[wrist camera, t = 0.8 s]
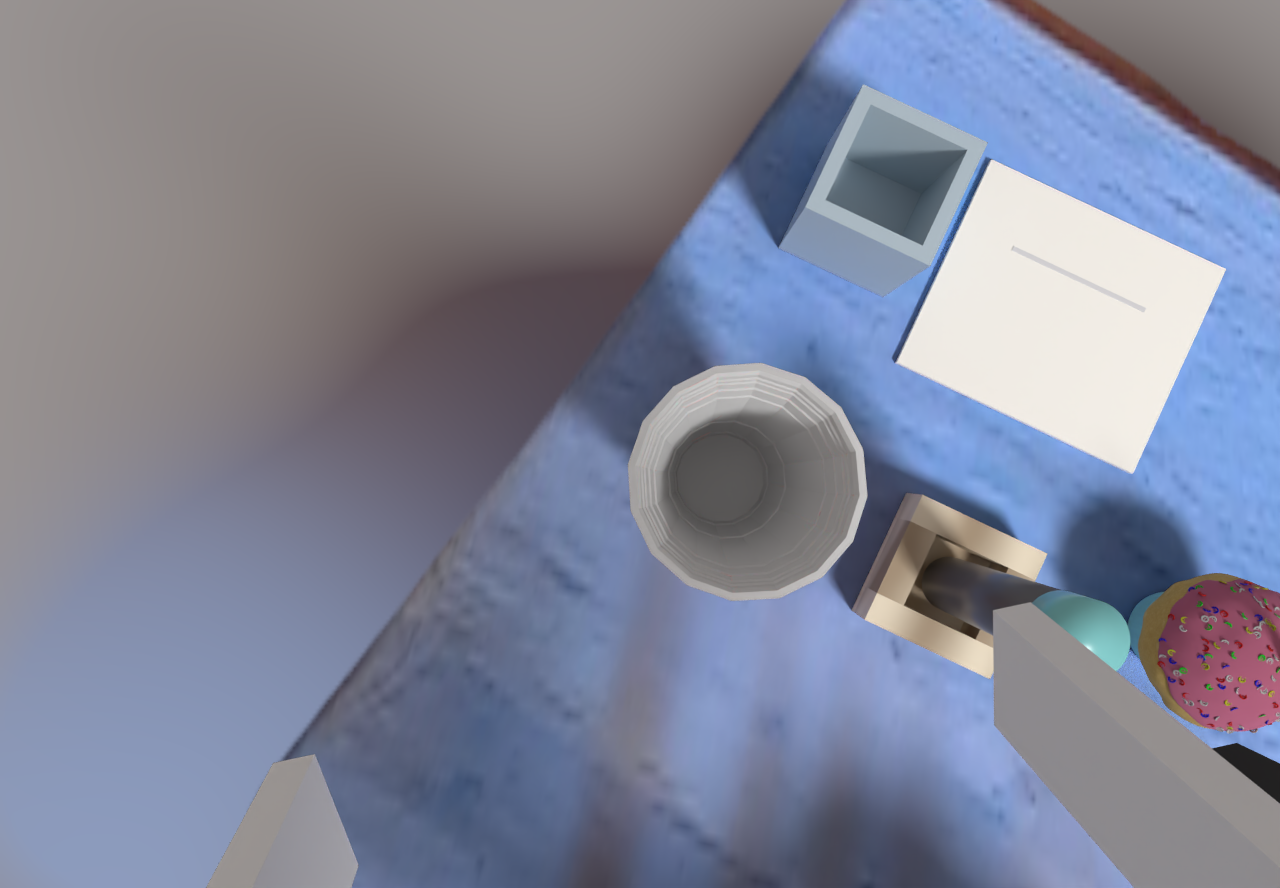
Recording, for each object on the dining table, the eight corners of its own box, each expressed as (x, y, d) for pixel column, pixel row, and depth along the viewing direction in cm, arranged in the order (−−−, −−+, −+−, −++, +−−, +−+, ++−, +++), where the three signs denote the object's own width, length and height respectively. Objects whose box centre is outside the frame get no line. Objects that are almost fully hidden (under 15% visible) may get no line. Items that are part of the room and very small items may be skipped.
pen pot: (931, 193, 44) (987, 142, 37) (883, 297, 43) (930, 266, 36) (827, 144, 44) (863, 84, 37) (778, 247, 43) (805, 207, 36)
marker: (977, 567, 42) (1143, 620, 28) (954, 616, 42) (1110, 694, 28) (927, 544, 42) (1070, 585, 28) (905, 593, 42) (1036, 659, 28)
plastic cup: (733, 352, 43) (770, 311, 31) (840, 491, 43) (918, 502, 31) (594, 458, 43) (577, 457, 31) (701, 598, 43) (725, 651, 31)
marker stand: (1023, 548, 43) (1047, 553, 40) (969, 666, 43) (989, 678, 40) (905, 492, 43) (922, 494, 41) (851, 610, 43) (864, 619, 40)
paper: (1222, 270, 43) (1226, 268, 43) (1129, 473, 43) (1133, 473, 43) (989, 161, 44) (991, 159, 43) (894, 363, 43) (896, 362, 43)
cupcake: (1213, 548, 43) (1435, 582, 31) (1248, 683, 43) (1486, 769, 31) (1078, 582, 43) (1249, 629, 31) (1114, 717, 43) (1300, 817, 31)
